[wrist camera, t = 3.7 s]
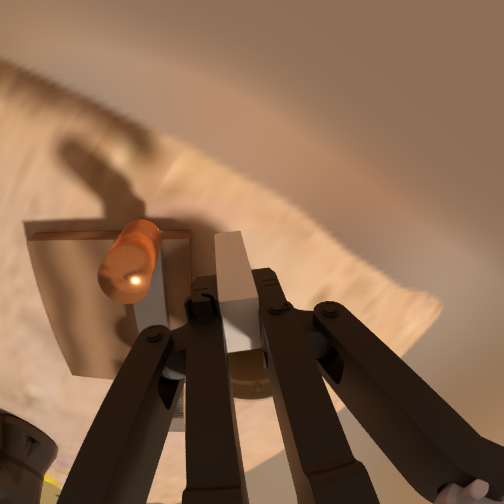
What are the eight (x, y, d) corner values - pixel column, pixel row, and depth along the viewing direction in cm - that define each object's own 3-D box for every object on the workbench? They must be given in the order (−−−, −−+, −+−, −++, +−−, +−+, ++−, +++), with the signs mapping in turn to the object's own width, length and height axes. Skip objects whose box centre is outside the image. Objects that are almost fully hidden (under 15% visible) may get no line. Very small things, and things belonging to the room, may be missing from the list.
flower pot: (188, 329, 31) (188, 392, 23) (219, 255, 27) (226, 312, 20) (267, 347, 34) (283, 406, 26) (305, 282, 30) (336, 338, 23)
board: (76, 364, 31) (71, 376, 29) (36, 232, 23) (25, 241, 21) (196, 370, 34) (197, 383, 32) (190, 230, 26) (188, 240, 24)
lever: (188, 398, 32) (189, 452, 25) (151, 397, 32) (147, 450, 25) (173, 211, 22) (159, 255, 15) (117, 211, 22) (82, 255, 15)
